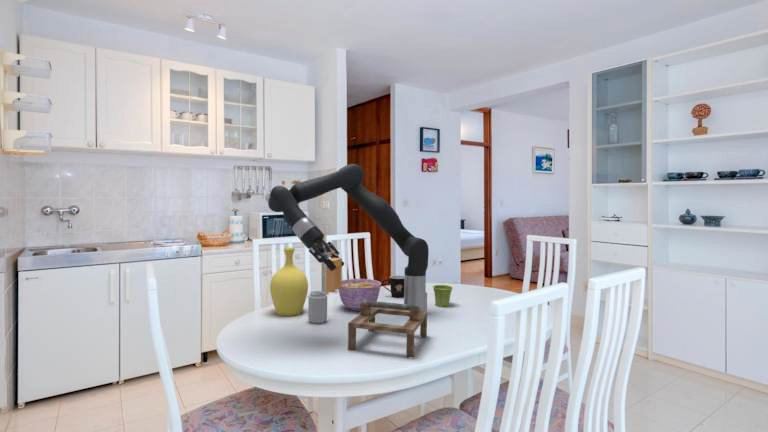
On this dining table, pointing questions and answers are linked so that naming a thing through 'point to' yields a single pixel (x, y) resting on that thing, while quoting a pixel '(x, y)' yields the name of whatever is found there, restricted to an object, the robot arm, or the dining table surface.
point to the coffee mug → (396, 286)
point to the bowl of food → (358, 292)
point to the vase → (289, 287)
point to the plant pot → (442, 294)
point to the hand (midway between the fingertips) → (338, 267)
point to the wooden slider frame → (368, 320)
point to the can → (317, 307)
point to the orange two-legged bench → (334, 276)
